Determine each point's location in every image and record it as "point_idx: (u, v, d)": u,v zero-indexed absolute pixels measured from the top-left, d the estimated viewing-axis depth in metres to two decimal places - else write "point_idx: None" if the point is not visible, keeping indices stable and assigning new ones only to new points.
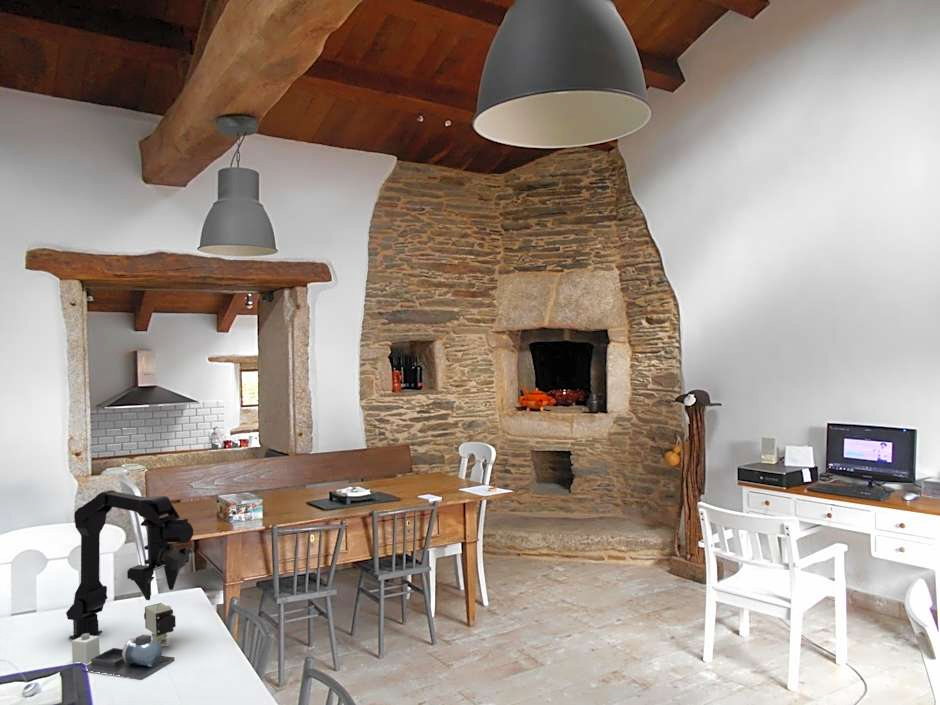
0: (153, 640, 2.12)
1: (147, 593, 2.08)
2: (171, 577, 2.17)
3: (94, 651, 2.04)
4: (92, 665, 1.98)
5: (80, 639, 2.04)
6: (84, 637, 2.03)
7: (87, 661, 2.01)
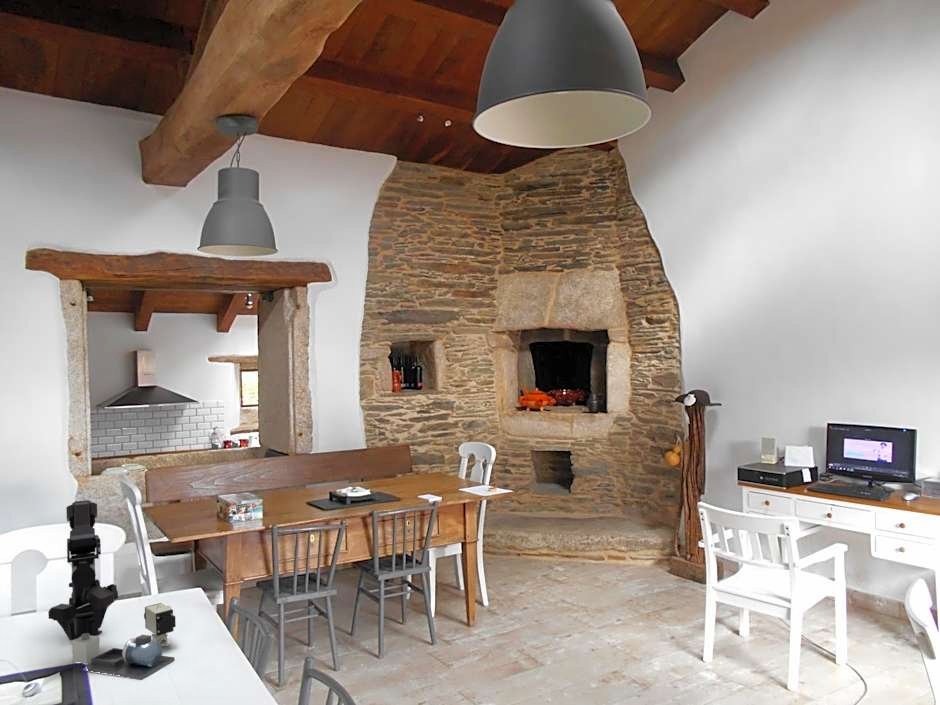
0: (153, 640, 2.12)
1: (70, 633, 1.99)
2: (98, 615, 2.08)
3: (94, 651, 2.04)
4: (92, 665, 1.98)
5: (80, 639, 2.04)
6: (84, 637, 2.03)
7: (87, 661, 2.01)
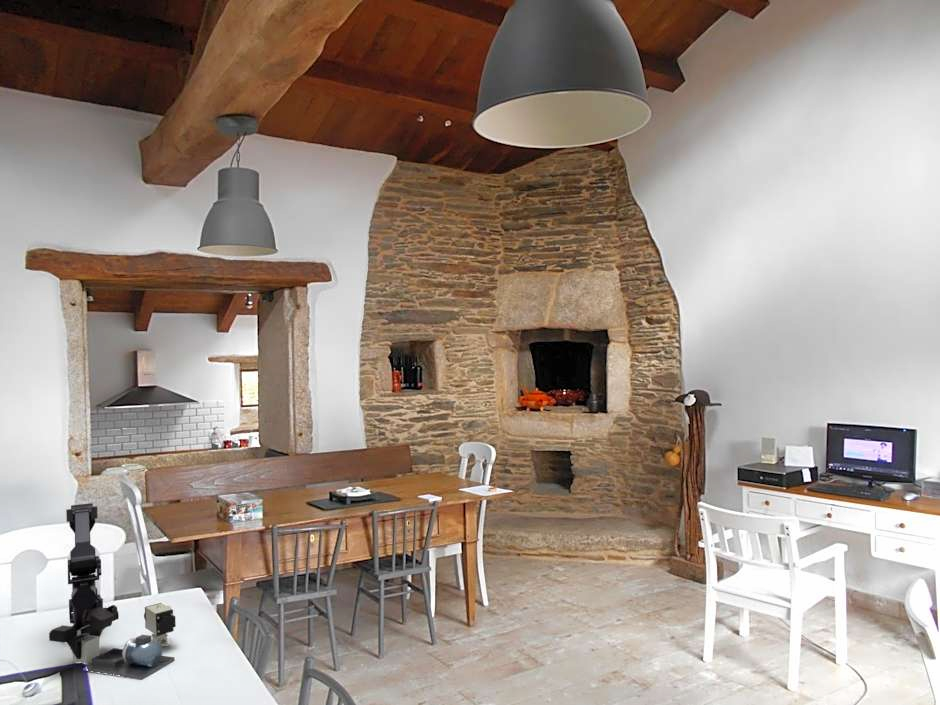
0: (153, 640, 2.12)
1: (77, 652, 2.01)
2: None
3: (94, 651, 2.04)
4: (92, 665, 1.98)
5: None
6: (84, 637, 2.03)
7: (87, 661, 2.01)
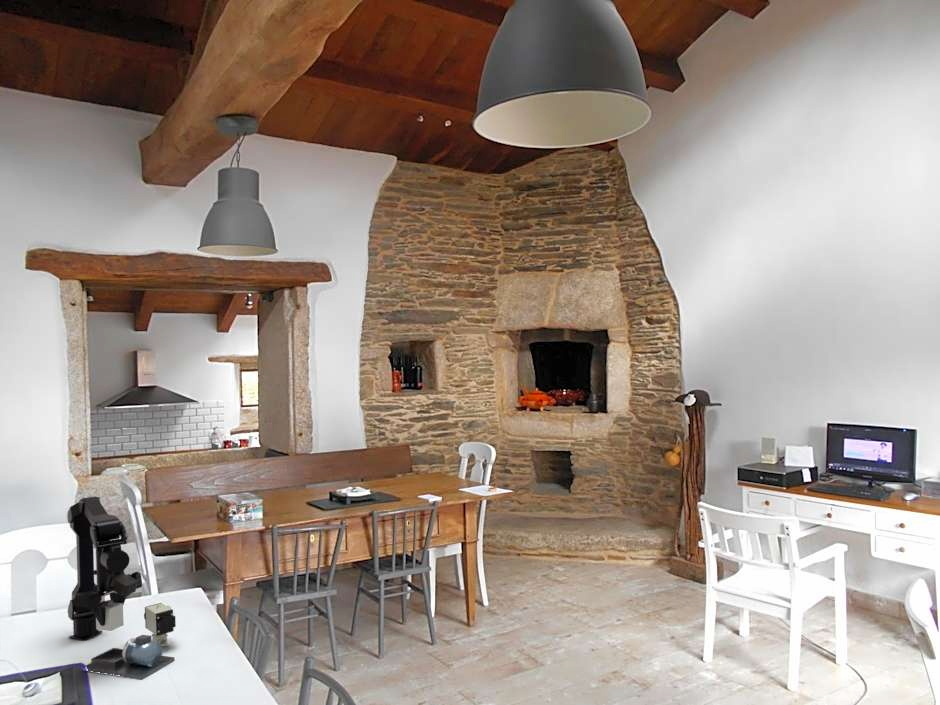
0: (153, 640, 2.12)
1: (101, 618, 1.98)
2: None
3: (118, 618, 2.00)
4: (92, 665, 1.98)
5: None
6: (108, 603, 2.00)
7: (111, 628, 1.98)
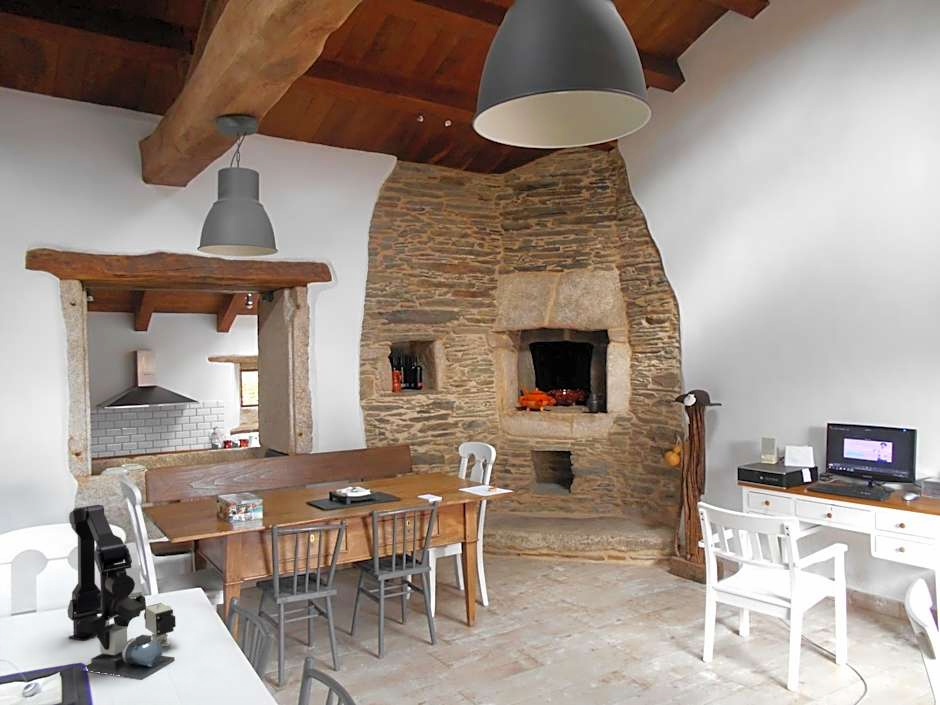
0: (153, 640, 2.12)
1: (105, 642, 1.98)
2: None
3: (122, 641, 2.00)
4: (92, 665, 1.98)
5: None
6: (112, 627, 2.00)
7: (115, 652, 1.98)
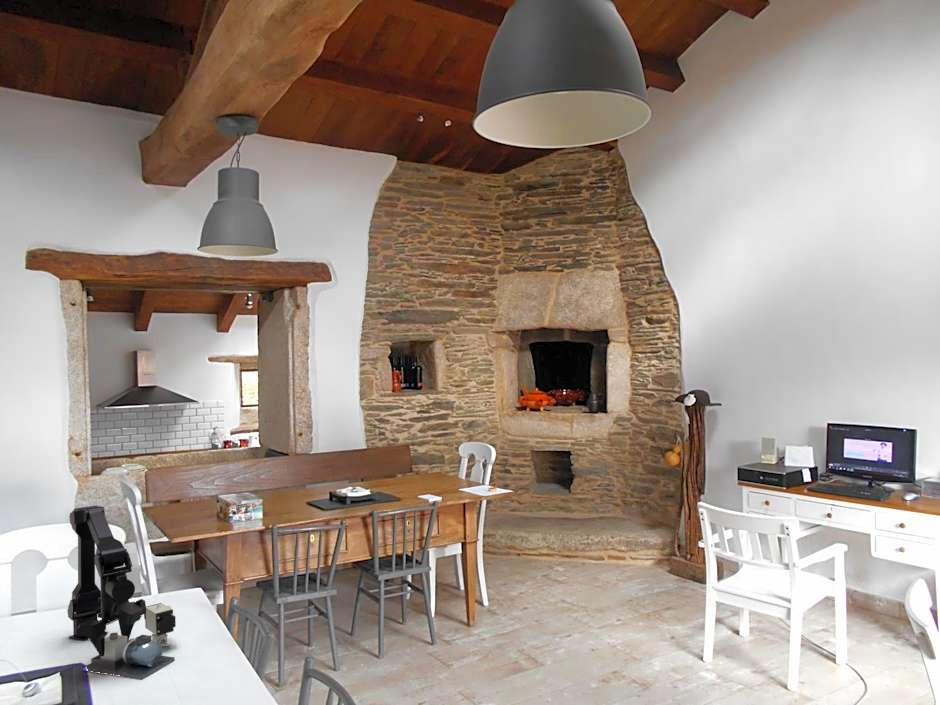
0: (153, 640, 2.12)
1: (101, 649, 1.96)
2: (125, 631, 2.05)
3: None
4: (92, 665, 1.98)
5: (108, 639, 2.00)
6: (112, 636, 2.00)
7: None
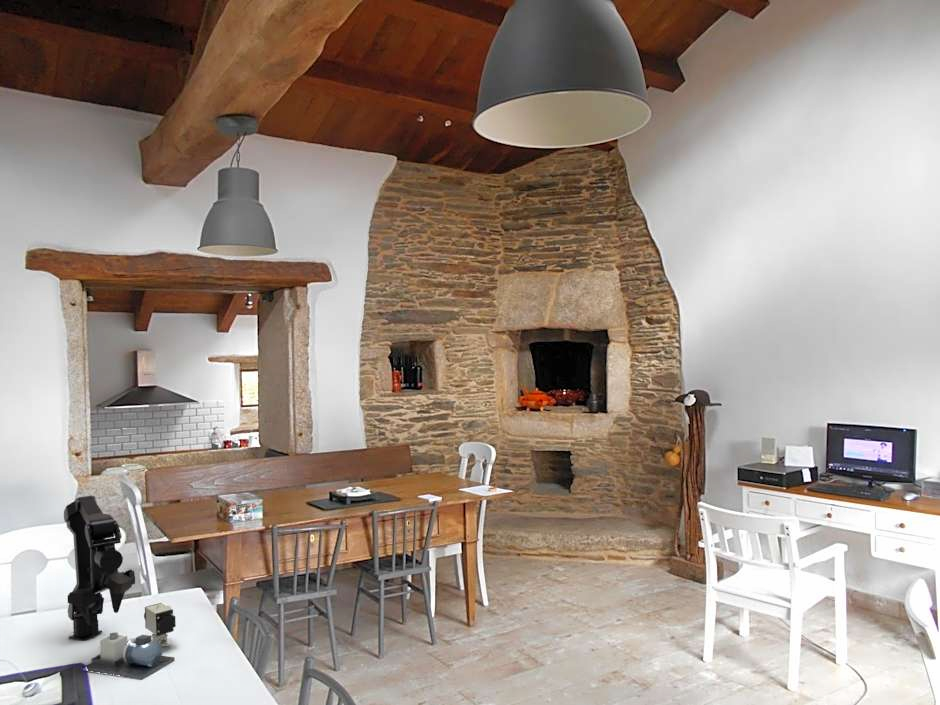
0: (153, 640, 2.12)
1: (89, 618, 2.00)
2: (116, 600, 2.10)
3: None
4: (92, 665, 1.98)
5: (108, 639, 2.00)
6: (112, 636, 2.00)
7: None
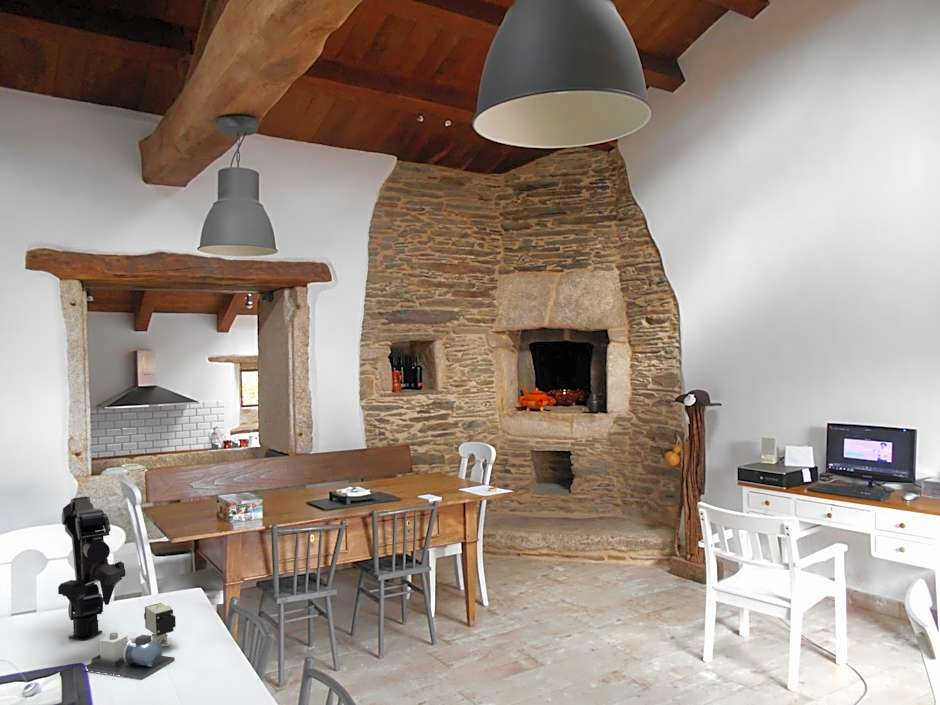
0: (153, 640, 2.12)
1: (79, 609, 2.04)
2: (106, 592, 2.14)
3: None
4: (92, 665, 1.98)
5: (108, 639, 2.00)
6: (112, 636, 2.00)
7: None
